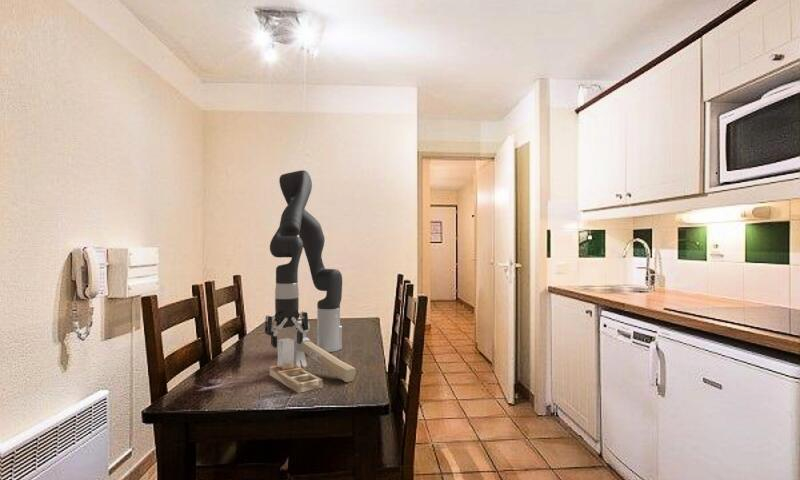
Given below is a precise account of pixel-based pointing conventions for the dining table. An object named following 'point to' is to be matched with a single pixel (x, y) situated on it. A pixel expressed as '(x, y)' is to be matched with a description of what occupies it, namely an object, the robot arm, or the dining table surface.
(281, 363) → the steel peg
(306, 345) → the hammer
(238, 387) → the dining table surface
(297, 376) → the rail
